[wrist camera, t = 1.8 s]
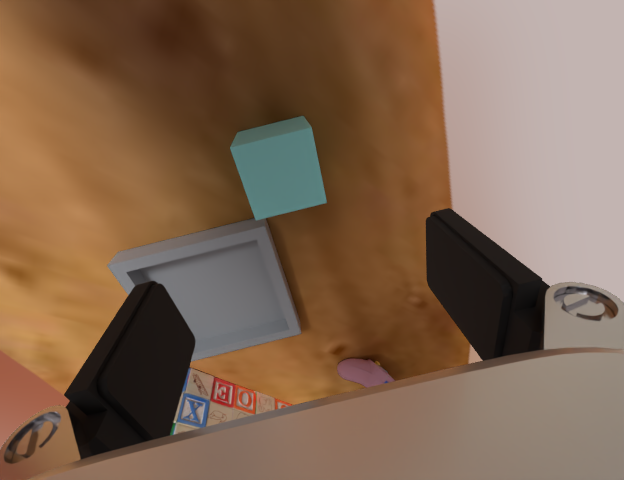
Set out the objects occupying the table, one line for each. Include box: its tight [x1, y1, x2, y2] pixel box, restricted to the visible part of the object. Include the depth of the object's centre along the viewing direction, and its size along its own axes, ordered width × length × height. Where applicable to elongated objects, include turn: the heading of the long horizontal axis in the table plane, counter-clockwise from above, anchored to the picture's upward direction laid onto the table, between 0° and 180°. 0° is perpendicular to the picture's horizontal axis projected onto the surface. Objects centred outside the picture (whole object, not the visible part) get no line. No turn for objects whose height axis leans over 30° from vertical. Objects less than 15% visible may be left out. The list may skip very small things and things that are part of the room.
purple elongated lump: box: [337, 358, 395, 388], centre depth 36 cm, size 10×5×7 cm, turn 39°
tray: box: [107, 218, 301, 361], centre depth 28 cm, size 13×13×2 cm
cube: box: [230, 116, 327, 220], centre depth 21 cm, size 5×5×5 cm
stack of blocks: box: [170, 368, 292, 435], centre depth 33 cm, size 21×6×12 cm, turn 48°
